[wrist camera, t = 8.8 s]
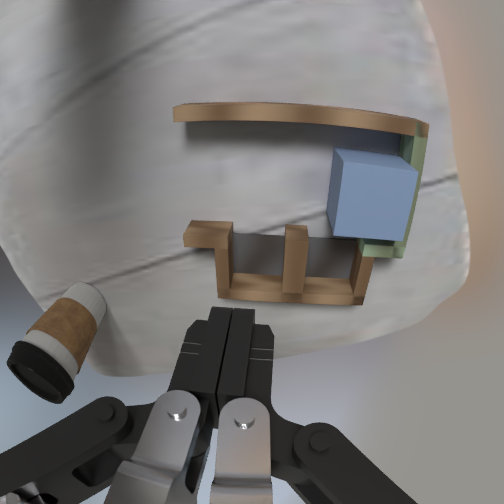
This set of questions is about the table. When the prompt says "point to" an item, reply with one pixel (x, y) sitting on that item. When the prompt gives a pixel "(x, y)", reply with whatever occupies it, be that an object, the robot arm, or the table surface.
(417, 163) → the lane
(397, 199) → the block
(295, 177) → the table surface
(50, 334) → the coffee cup
